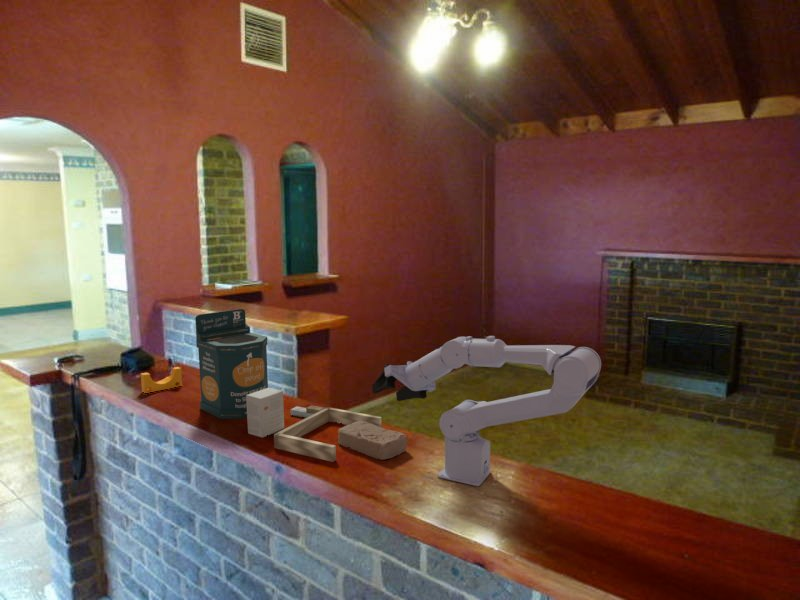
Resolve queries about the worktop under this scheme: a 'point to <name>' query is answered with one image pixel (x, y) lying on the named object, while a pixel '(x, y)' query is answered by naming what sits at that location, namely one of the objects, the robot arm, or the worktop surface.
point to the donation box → (229, 363)
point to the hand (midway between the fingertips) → (385, 393)
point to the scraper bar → (305, 411)
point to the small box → (265, 412)
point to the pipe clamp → (166, 383)
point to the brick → (372, 440)
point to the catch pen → (291, 434)
